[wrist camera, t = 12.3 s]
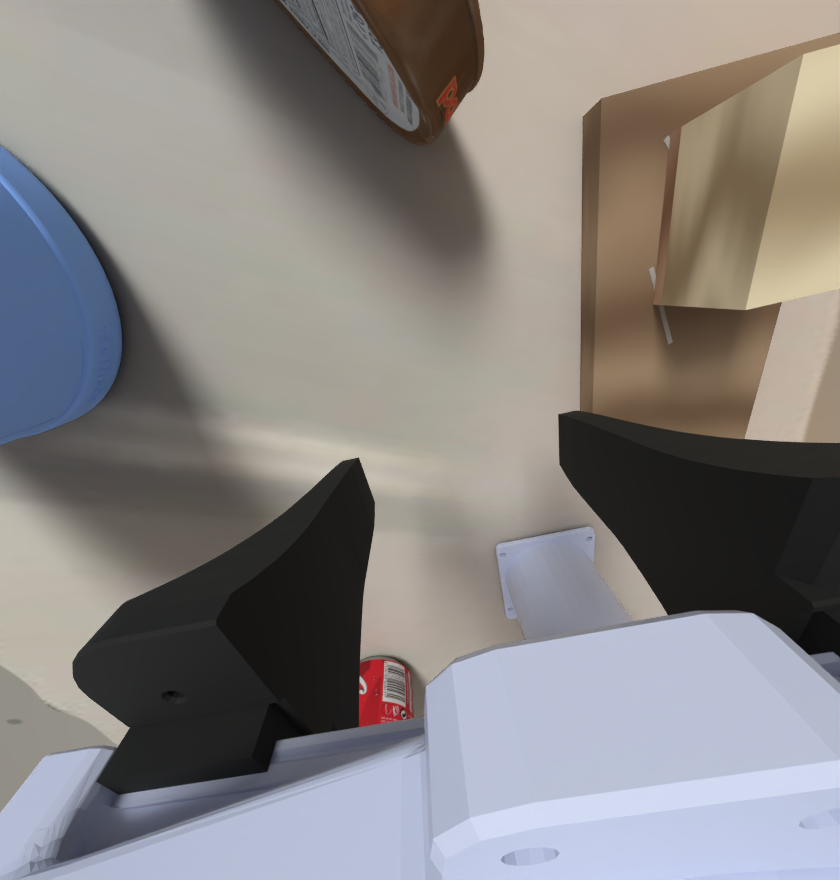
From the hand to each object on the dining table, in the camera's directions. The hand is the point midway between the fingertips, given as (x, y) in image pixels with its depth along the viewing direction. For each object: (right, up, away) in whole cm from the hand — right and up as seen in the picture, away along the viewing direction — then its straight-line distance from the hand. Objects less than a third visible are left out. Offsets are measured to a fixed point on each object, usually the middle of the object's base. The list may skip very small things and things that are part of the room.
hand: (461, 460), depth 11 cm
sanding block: (+12, +11, +4) cm, 17 cm away
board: (+13, +8, +7) cm, 17 cm away
